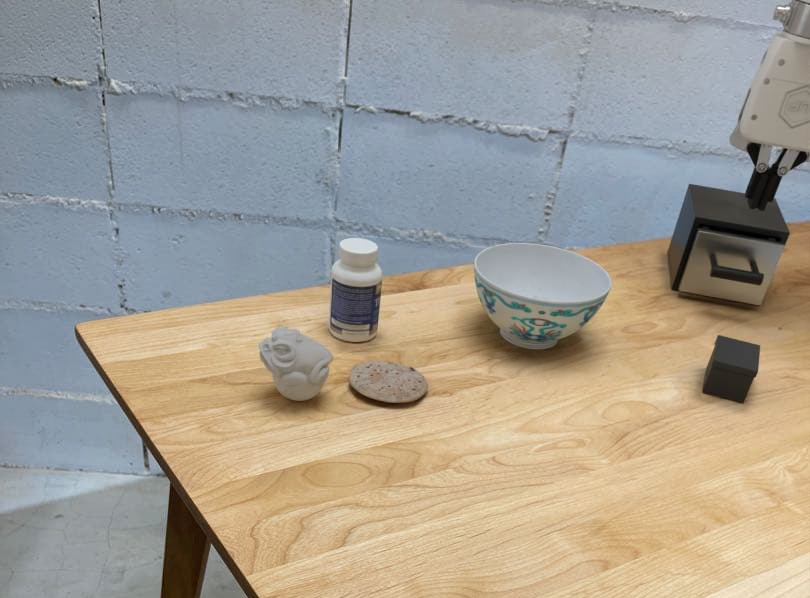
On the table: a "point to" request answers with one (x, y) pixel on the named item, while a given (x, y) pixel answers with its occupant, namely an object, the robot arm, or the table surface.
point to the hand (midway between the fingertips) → (755, 205)
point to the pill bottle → (355, 291)
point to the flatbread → (388, 382)
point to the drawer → (730, 264)
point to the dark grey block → (731, 368)
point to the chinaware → (538, 291)
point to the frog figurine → (295, 363)
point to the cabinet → (719, 222)
